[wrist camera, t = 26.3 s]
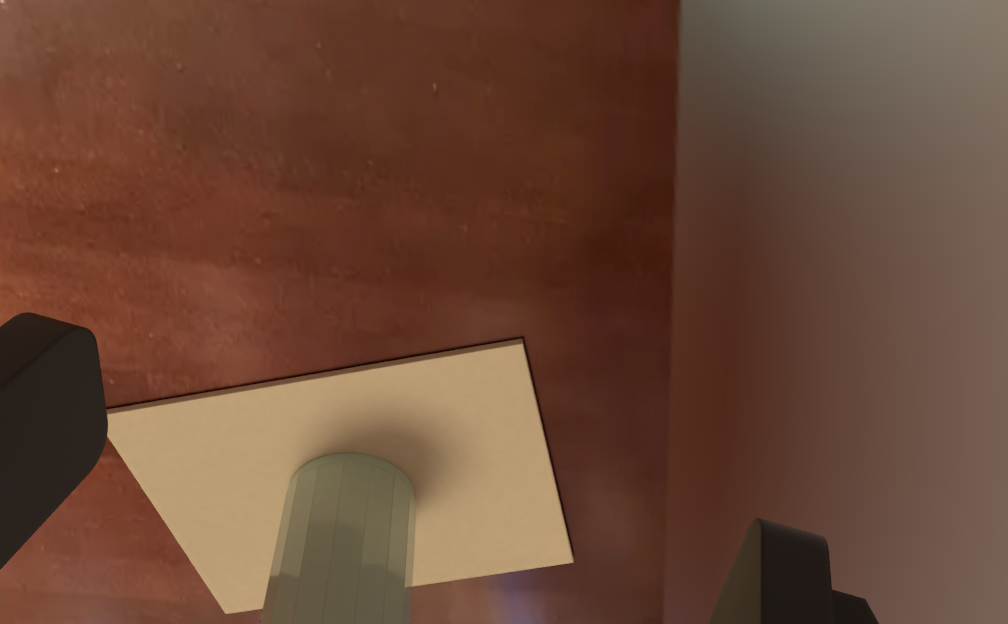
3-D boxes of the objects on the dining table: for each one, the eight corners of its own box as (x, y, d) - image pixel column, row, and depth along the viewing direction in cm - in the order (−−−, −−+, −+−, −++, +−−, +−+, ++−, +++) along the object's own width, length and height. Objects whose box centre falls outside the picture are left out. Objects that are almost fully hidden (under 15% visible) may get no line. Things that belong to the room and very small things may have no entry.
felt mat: (522, 337, 40) (522, 343, 39) (573, 556, 49) (573, 562, 49) (96, 410, 41) (94, 416, 41) (226, 608, 51) (225, 614, 51)
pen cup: (397, 443, 43) (381, 652, 34) (429, 526, 47) (421, 734, 38) (269, 463, 43) (221, 675, 35) (310, 544, 47) (276, 753, 39)
